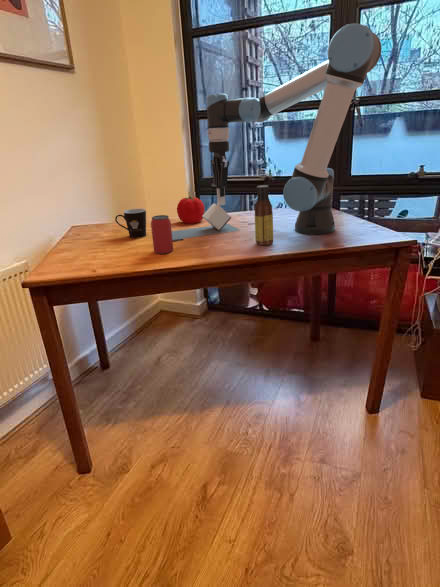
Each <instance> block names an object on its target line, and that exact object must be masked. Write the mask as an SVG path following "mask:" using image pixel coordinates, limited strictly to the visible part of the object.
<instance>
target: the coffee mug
mask: <svg viewBox="0 0 440 587" xmlns="http://www.w3.org/2000/svg"><path fill="white" fill-rule="evenodd" d="M118 217H122V218H123V220H125V224H126V226H124V225H123V224H121V223H120V222H118V220H117V219H118ZM115 223H116V224H117V225H119V226H120V227H122V228H124V229H125V230H127V231H128V235H129V238H131V239H141V238H142V239H143V238H145V237H147V209H145V208H130V209H126V210H124V211H123V214H117V215H116V216H115Z"/></svg>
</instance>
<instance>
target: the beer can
mask: <svg viewBox="0 0 440 587" xmlns="http://www.w3.org/2000/svg"><path fill="white" fill-rule="evenodd" d="M171 222H172V221H171V220H170V218H169V215H166V214H164V215H163V214H160V215H154V216H151V221H150V228H151V236H152V245H153V246H152V247H153V252H154V253H155V254H158V255H166V254H170V253H172V252H173V251H174V242H173V241H172V231H173V230H172V223H171Z"/></svg>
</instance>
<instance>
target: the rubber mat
mask: <svg viewBox="0 0 440 587" xmlns="http://www.w3.org/2000/svg"><path fill="white" fill-rule="evenodd" d="M239 231H240V228H237V227H235V226H233V225H231V224H229V223H227V224H226V225H225V226H224V227H223V228H222V229H221V230H220V231H219V230H217V229H215V228H214V227H212V226H211V225H208V226H202V227H201V226H200V227H194V228H187V229H180V230H179V229H178V230H172V241H173V243H174V242H179V241H184V239H191V238H197V237H198V238H199V237H205V236H210V235H219V234H225V233H231V232H239Z"/></svg>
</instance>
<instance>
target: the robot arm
mask: <svg viewBox="0 0 440 587" xmlns="http://www.w3.org/2000/svg"><path fill="white" fill-rule="evenodd" d="M381 55H382V42H381V40H380V38H379V36H378V35H377V34H376V33H375V32H374V31H372V30H371V28H370V27H368V26H367V25H364V24H362V23H350V24H349V23H348V24H346V25H344V26H341V28H340V29H337V31H336V32H335V33H334V35H333V36H332V38H331V39H330V42H329V45H328V49H327V59H328V60H326V61H324V62H321V63H320V64H318V65H317V66H315V67H313V68H311V69H309V70H307V71H305V72H304V73H302V74H300V75H298V76H296V77H295V78H293V79H291V80H289V81H287V82H285V83H284V84H282V85H280V86H278V87H276V88H274V89H272V90H271V91H269V92H267V93H266V94H265V93H264V94H263V95H262V96H260V97H258V98H256V97H249V96H247V97H244V98H242V97H240V98H233V99H230V98H228V97H229V96H228V94H227V93H210V94H208V95H207V97H206V114H207V125H208V126H207V127H208V128H207V129H208V130H207V132H206V134H207V135H208V140H209V142H208V151H209V152H210V153H213V157H212V159H211V160H210V164H211V169H212V176H213V185H214V186H215V188H216V197H217V198H216V200H217V203H216V204H217V205H219V206H225V205H226V196H225V195H226V191H225V189H226V188H227V187H228V175H229V167H230V166H229V165H230V162H229V160H228V161H227V157H226V156H227V155H226V153H227V152H230V142H229V139H230V129H229V124H231V123H254V122H256V123H262V122H266V121H267V120H269V119H270V118H271V117H272V116H273V115H275V114H277V113H279V112H281V111H283V110H285V109H287V108H289V107H292V106H293V105H296V104H298V103H300V102H302V101H303V100H306V99H308V98H310V97H312V96H314V95H316V94H318V93H320V92H322V91H323V95H322V98H321V101H320V103H319V107H318V110H317V113H316V117H315V120H314V122H313V126H312V129H311V131H310V134H309V138H308V139H307V140H308V141H307V143H306V146H305V149H304V153H303V155H302V159H301V162H299V163H297V164H296V165H295V166H294V169H293V172H292V174H291V178H290V179H289V180H287V182H286V183H285V184H284V187H283V191H282V196H283V197H282V198H283V200H284V201H285V204H286V205H287V207H289V209H291V210H293V211H295V212H299V213H298V214H297V216H296V217H297V218H296V221H295V224H294V231H296V232H298V233H300V234H304V235H305V234H306V235H323V234H324V235H325V234H330V233H333V232H334V231H335V229H336V224H335V218H334V215H333V211H332V210H333V209H332V206H333V205H332V204H333V193H334V182H335V181H334V180H335V171H334V169H333V168H329V167H328V165H329V163H330V160H331V157H332V154H333V152H334V149H335V146H336V143H337V141H338V138H339V135H340V132H341V129H342V127H343V124H344V122H345V119H346V116H347V114H348V111H349V108H350V106H351V103H352V99H353V97H354V94H355V91H356V90H358V88H360V87H362V86H363V85H364V82H365V80H366V78H367V77H366V76H367V75H368V73H370V72H371V71H372V70H373V69H374V68H375V67H376V66H377V65H378V63H379V61H380V59H381Z"/></svg>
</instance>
